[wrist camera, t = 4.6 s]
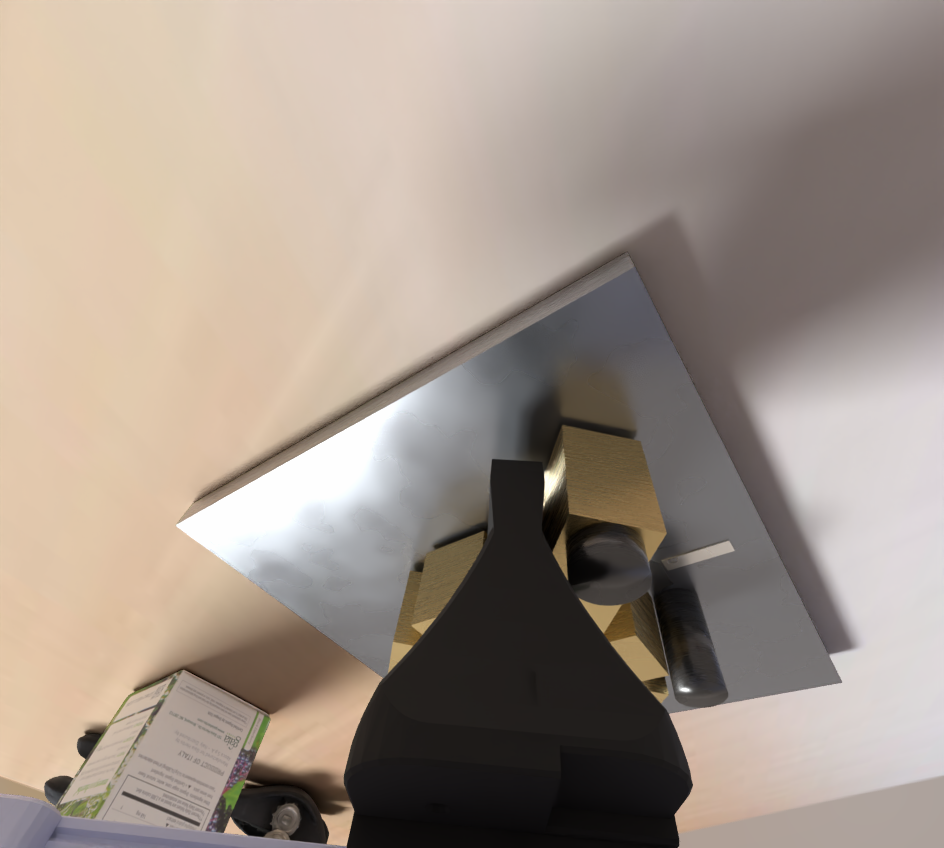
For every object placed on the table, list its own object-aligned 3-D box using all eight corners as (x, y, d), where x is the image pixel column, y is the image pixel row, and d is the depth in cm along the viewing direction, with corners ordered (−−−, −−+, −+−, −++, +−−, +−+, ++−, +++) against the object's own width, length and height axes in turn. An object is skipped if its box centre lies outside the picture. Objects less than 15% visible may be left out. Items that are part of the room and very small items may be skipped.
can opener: (357, 791, 33) (330, 905, 29) (324, 816, 37) (295, 920, 33) (84, 707, 30) (3, 824, 25) (79, 744, 33) (8, 851, 29)
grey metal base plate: (829, 655, 19) (890, 779, 16) (480, 725, 25) (472, 822, 22) (627, 251, 11) (667, 332, 8) (192, 503, 17) (113, 605, 14)
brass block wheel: (600, 690, 20) (612, 806, 17) (396, 651, 19) (370, 761, 16) (760, 465, 12) (835, 598, 9) (439, 399, 12) (407, 512, 9)
